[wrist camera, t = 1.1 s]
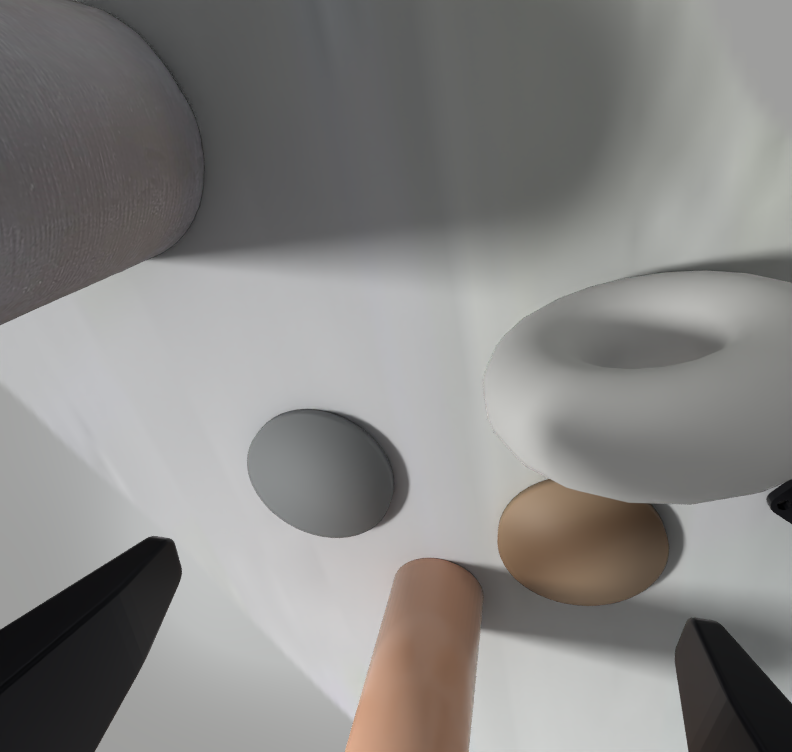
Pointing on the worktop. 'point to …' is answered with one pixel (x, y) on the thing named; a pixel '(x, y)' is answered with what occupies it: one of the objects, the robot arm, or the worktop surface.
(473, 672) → the post
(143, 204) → the pillar candle
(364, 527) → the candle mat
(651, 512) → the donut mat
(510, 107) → the worktop surface
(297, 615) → the worktop surface
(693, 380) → the donut
